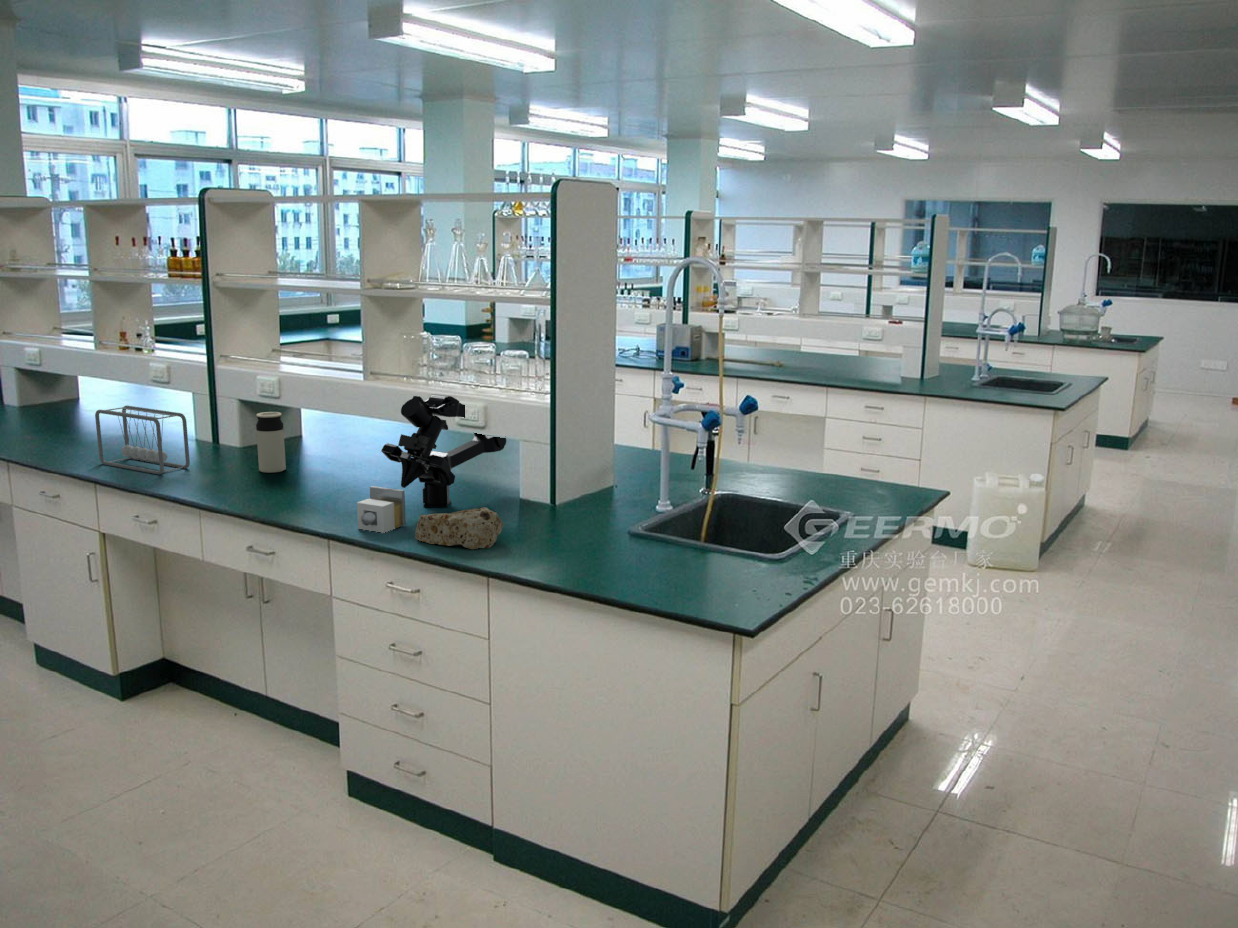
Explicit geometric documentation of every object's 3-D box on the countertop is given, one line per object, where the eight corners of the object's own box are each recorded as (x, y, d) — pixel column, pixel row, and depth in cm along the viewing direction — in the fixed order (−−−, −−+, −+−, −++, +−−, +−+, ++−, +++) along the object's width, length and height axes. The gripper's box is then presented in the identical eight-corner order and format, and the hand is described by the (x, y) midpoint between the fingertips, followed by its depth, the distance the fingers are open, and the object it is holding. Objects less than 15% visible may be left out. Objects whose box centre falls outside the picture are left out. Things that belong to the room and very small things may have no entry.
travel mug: (291, 469, 314) (288, 413, 310) (270, 474, 307) (266, 417, 303) (274, 466, 318) (271, 410, 314) (253, 471, 312) (249, 414, 308)
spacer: (372, 521, 258) (371, 500, 257) (401, 526, 254) (400, 504, 253) (367, 523, 256) (366, 502, 255) (396, 528, 253) (395, 506, 251)
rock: (407, 547, 241) (408, 506, 242) (441, 545, 255) (442, 506, 255) (480, 550, 233) (481, 507, 233) (511, 547, 246) (512, 507, 247)
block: (369, 524, 256) (368, 498, 255) (394, 528, 253) (393, 502, 251) (358, 529, 252) (356, 502, 251) (383, 533, 249) (382, 506, 247)
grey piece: (374, 519, 259) (372, 485, 257) (405, 524, 255) (404, 490, 253) (350, 528, 251) (348, 494, 249) (382, 533, 247) (381, 498, 245)
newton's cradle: (191, 469, 313) (186, 413, 309) (162, 475, 304) (157, 418, 300) (128, 458, 327) (123, 404, 323) (99, 464, 318) (93, 409, 314)
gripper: (385, 414, 265) (360, 466, 260) (445, 429, 259) (420, 482, 253) (402, 434, 275) (378, 483, 269) (460, 448, 268) (437, 500, 263)
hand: (402, 487), depth 263 cm, fingers closed
